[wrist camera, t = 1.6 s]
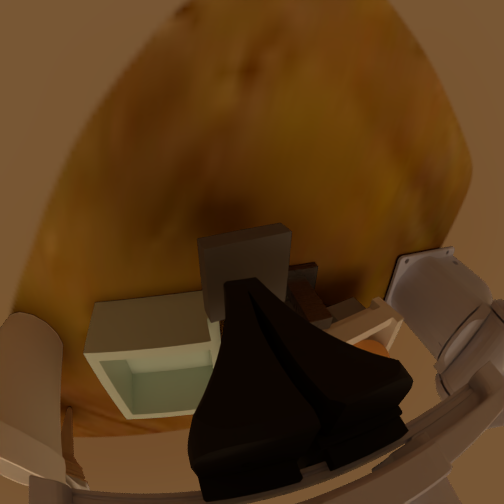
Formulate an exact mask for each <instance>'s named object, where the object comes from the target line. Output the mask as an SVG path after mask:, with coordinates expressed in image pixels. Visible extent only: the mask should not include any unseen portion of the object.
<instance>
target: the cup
mask: <svg viewBox="0 0 504 504" xmlns="http://www.w3.org/2000/svg"><path fill="white" fill-rule="evenodd" d="M220 344H221V336H220V325H219V321H217V322H213V323H211V322H210V320H209V318H208V316H207V314H206V312H205V309H204V301H203V292H202V291H194V292H187V293H179V294H170V295H162V296H154V297H145V298H136V299H127V300H117V301H107V302H97V303H95V305H94V309H93V313H92V317H91V321H90V325H89V329H88V334H87V338H86V343H85V348H84V353H83V354H84V355H85V357H86V359H87V361H88V362H89V364H90V366H91V367H92V369H93V370H94V372H95V374H96V375H97V377H98V378H99V380H100V382H101V383H102V385H103V386H104V388H105V389H106V391H107V392H108V394H109V395H110V397H111V398H112V399H113V401H114V402H115V404H116V405H117V407H118V408H119V409H120V411H121V412H122V413H123V415H124V416H125V417H126V419H143V418H158V417H170V416H180V415H189V414H194V413H195V411H196V409H197V407H198V405H199V403H200V401H201V399H202V397H203V394H204V392H205V390H206V387H207V385H208V382H209V380H210V377H211V375H212V372H213V369H214V366H215V362H216V359H217V356H218V352H219V348H220Z"/></svg>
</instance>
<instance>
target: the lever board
mask: <svg viewBox="0 0 504 504" xmlns="http://www.w3.org/2000/svg"><path fill="white" fill-rule="evenodd" d="M291 237H292V231H291V230H289V229H288V228H287V227H286V226H284V225H283V224H282V223H276V224H271V225H265V226H260V227H255V228H249V229H244V230H239V231H233V232H228V233H223V234H218V235H213V236H208V237H202V238H197V243H198V254H199V264H200V274H201V283H202V292H203V301H204V309H205V312H206V314H207V316H208V318H209V320H210V322H211V323H213V322H217V321H221V320H224V319H225V304H224V287H223V284H224V283H225V282H226V281H232V280H239V279H246V278H253V277H256V278H257V279H259V280H260V281H261V282H262V283H263V284H264V285H265V286H266V287H267V288H268V289H269V290H270V291H271V292H272V293H273V294H275V295H276V296H277V297H278V298H279V299H280V300H281V301H283V302H285V297H286V288H287V278H288V268H289V258H290V248H291ZM327 309H328V311H329V312H330V314H331V315H332V317H333V319H332V322H331V326H330V328H329V329H325V330H323V331H325V332H326V333H328V334H330V335H332V336H334V337H336V338H338V339H340V340H342V341H344V342H346V343H348V344H351V345H353V344H355V343H357V342H359V341H361V340H374V341H377V342H379V343H381V344H382V345H383V346H384V347H385V348H386V349H387V351H389V349H390V347H391V345H392V343H393V341H394V339H395V337H396V335H397V333H398V331H399V329H400V327H401V324H402V322H403V320H404V317H402V316H401V315H400V314H399V313H398V312H397V311H395V310H394V309H393V308H392V307H391V306H390V305H388V304H387V303H386V302H385V301H384V300H382V299H381V298H380V297H377V298H374V299H372V302H371V305H370V307H369V308H367V309H366V308H365V307H364V306H363V305H361V304H360V303H359V302H358V301H357V300H356V299H355V298H354V297H352V298H350V299H347V300H345V301H342V302H340V303H337V304H335V305H332V306H330V307H327Z"/></svg>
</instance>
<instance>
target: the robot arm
mask: <svg viewBox="0 0 504 504" xmlns="http://www.w3.org/2000/svg"><path fill="white" fill-rule="evenodd" d="M453 253H454V247H453V246H450V247H445V248H440V249H435V250H429V251H424V252H419V253H414V254H409V255H403V256H401V257H399V259H398V261H397V264H396V268H395V271H394V274H393V277H392V280H391V283H390V286H389V289H388V292H387V295H386V298H385V302H386V303H387V304H388V305H390V306H391V307H392V308H393V309H394V310H395V311H397V312H398V313H399V314H400V315H401V316H402V317H404V320H403V321H404V322H405V323H406V324H407V325H408V326H409V328H410V329H411V330H412V331H413V332H414V333H415V335H416V336H417V337H418V338H419V339H420V341H421V342H422V343H423V344H424V345H425V346H426V348H427V349H428V350H429V351H430V353H431V354H432V355H433V356H434V358H435V359H436V360H437V362H436V363H435V365H434V368H435V369H436V370H437V372H438V373H437V374H436V378H435V381H436V389H437V392H438V395H439V397H440V399H441V400H442V402H440V403H439V404H438V405H436V406H434V407H433V408H431V409H429V410H428V411H426V412H425V413H423V414H422V415H420V416H418V417H417V418H415V419H413V420H411V421H410V422H408V423H406V424H404V422H403V421H402V419H401V417H400V415H401V414H402V410H401V409H400V407H399V406H398V405H399V404H400V402H401V401H402V400H403V399H404V397H405V396H406V395H407V393H408V392H409V390H410V389H411V387H412V383H413V379H412V377H411V376H410V375H409V373H408V372H407V371H406V369H405V368H404V367H403V365H402V364H401V363H400V362H399V360H395V359H392V358H388V357H385V356H381V355H378V354H374V353H371V352H369V351H366V350H363V349H360V348H358V347H355V346H353V345H351V344H348V343H346V342H344V341H342V340H340V339H338V338H336V337H334V336H332V335H330V334H328V333H326V332H325V331H323V330H321V329H320V328H318V327H316V326H315V325H313V324H311V323H310V322H308V321H307V320H305V319H304V318H303V317H301V316H300V315H299V314H297V313H296V312H295V311H293V310H292V309H291V308H290V307H288V306H287V305H286V304H285V303H284V302H283V301H281V300H280V299H279V298H278V297H277V296H276V295H275V294H273V293H272V292H271V291H270V290H269V289H268V288H267V287H266V286H265V285H264V284H263V283H262V282H261V281H260V280H259V279H257V278H256V277H253V278H246V279H239V280H232V281H226V282H225V283H224V284H223V287H224V304H225V323H224V329H223V335H222V340H221V344H220V348H219V352H218V356H217V359H216V362H215V366H214V369H213V372H212V375H211V377H210V380H209V382H208V385H207V387H206V390H205V392H204V394H203V397H202V399H201V401H200V403H199V405H198V407H197V409H196V411H195V413H194V415H193V418H192V423H191V428H190V432H189V438H188V456H189V460H190V465H191V468H192V470H193V471H194V472H195V474H196V475H197V476H198V479H199V483H200V488H201V491H191V492H180V493H160V494H130V493H110V492H99V491H90V490H82V489H75V488H70V487H69V486H68V485H66V484H64V483H62V482H59V481H56V480H51V479H47V478H42V477H38V476H33V475H30V476H29V504H247V503H252V502H256V501H261V500H265V499H269V498H273V497H277V496H281V495H285V494H288V493H292V492H294V491H298V490H301V489H304V488H307V487H310V486H313V485H316V484H319V483H322V482H325V481H327V480H330V479H332V478H335V477H337V476H340V475H342V474H345V473H347V472H349V471H352V470H354V469H356V468H358V467H361V466H363V465H365V464H367V463H369V462H371V461H373V460H375V459H377V458H379V457H381V456H383V455H385V454H387V453H389V452H390V451H392V450H394V449H396V448H398V447H400V446H401V445H403V444H405V445H404V446H402V447H401V448H399V449H398V450H396V451H394V452H393V453H392V454H390V456H389V457H388V458H386V459H385V460H384V461H383V462H381V463H380V464H378V465H377V466H376V467H374V468H373V469H372V473H370V474H368V475H366V476H364V477H362V478H360V479H358V480H355V481H353V482H351V483H348V484H346V485H344V486H342V487H339V488H337V489H334V490H332V491H329V492H327V493H324V494H322V495H319V496H317V497H314V498H311V499H308V500H305V501H303V502H300V503H297V504H462V503H461V501H460V500H459V498H458V496H457V494H456V493H455V491H454V489H453V487H452V486H451V484H450V482H449V480H448V479H447V477H446V476H447V475H448V474H450V472H451V470H452V465H451V463H453V462H454V461H455V460H456V459H457V458H458V457H459V456H460V455H461V454H462V453H463V452H465V451H466V450H467V449H468V448H469V447H470V446H471V445H472V444H473V443H474V442H475V441H476V440H477V439H478V437H480V436H481V434H482V433H483V432H484V431H485V430H486V429H489V428H495V427H500V426H504V300H502V299H498V300H493V299H492V294H491V291H490V289H489V287H488V285H487V284H486V283H485V282H484V281H483V280H482V279H481V278H480V277H479V276H477V275H476V274H475V273H474V272H473V271H471V270H470V269H469V268H468V267H467V266H465V265H464V264H463V263H462V262H460V261H459V260H458V259H457V258H455V257H454V256H453Z"/></svg>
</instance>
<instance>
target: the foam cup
mask: <svg viewBox="0 0 504 504" xmlns="http://www.w3.org/2000/svg"><path fill="white" fill-rule="evenodd" d="M62 355H63V343H62V341H61V340H60V338H59V336H58V334H57V333H56V332H55V331H54V330H53V329H52V328H51V327H50V326H49V325H48V324H47V323H46V322H45V321H43V320H41V319H39V318H38V317H36V316H34V315H32V314H27V313H22V312H17V313H14V314H10V315H9V317H8V319H6V320H5V322H4V323H3V325H2V326H1V328H0V475H2V476H4V477H6V478H8V479H11V480H13V481H15V482H18V483H20V484H23V485H27V486H29V476H30V475H33V476H38V477H42V478H47V479H51V480H56V481H59V482H62V483H64V484H66V465H65V460H64V458H63V457H62V445H61V425H60V392H61V371H62Z"/></svg>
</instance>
